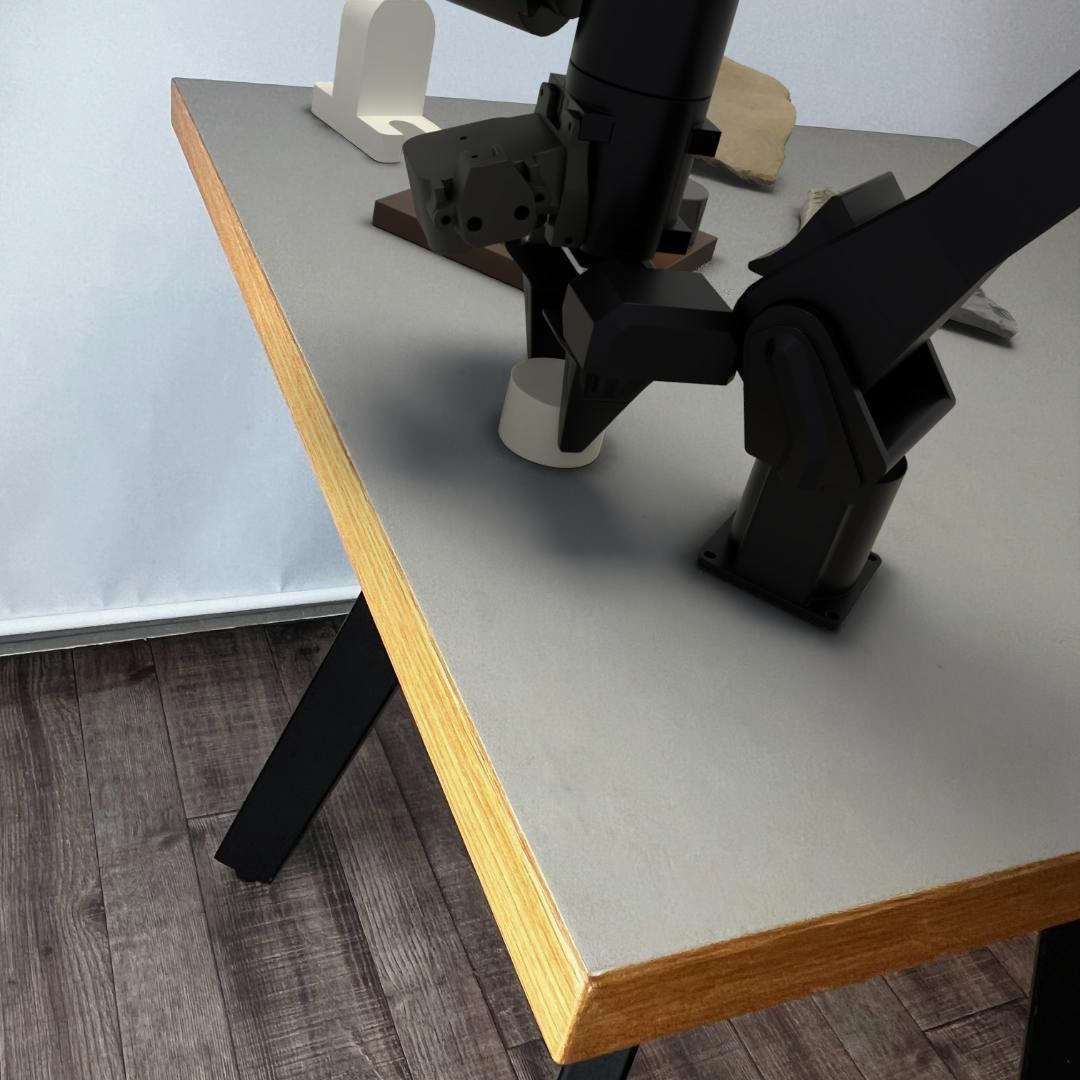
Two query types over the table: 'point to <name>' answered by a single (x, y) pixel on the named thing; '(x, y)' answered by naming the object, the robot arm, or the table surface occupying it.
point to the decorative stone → (750, 122)
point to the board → (495, 259)
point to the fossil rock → (971, 312)
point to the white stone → (539, 415)
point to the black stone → (693, 206)
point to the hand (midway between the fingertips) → (553, 420)
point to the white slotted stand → (380, 76)
